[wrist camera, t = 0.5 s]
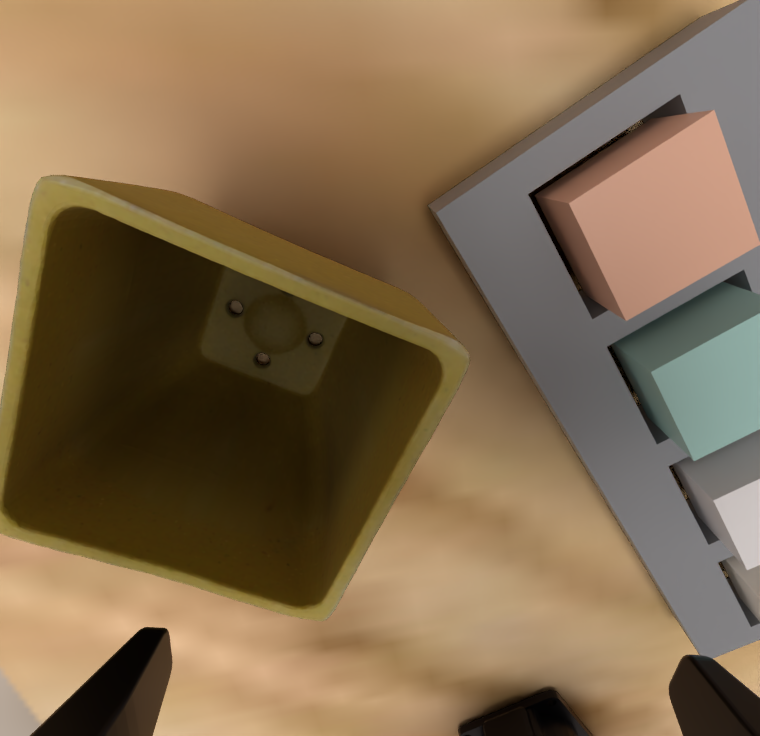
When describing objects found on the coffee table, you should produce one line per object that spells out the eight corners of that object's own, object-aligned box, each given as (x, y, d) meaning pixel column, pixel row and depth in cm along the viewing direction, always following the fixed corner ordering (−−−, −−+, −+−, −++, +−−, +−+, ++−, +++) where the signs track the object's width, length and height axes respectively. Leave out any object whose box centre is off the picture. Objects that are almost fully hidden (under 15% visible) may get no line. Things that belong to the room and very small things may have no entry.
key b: (790, 473, 20) (856, 523, 18) (698, 516, 21) (747, 570, 18) (763, 404, 19) (829, 446, 16) (665, 452, 20) (713, 500, 17)
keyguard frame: (871, 533, 23) (925, 573, 21) (674, 616, 26) (704, 661, 23) (701, 16, 15) (760, -9, 13) (427, 205, 17) (435, 212, 15)
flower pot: (432, 264, 18) (483, 355, 10) (343, 447, 21) (325, 632, 13) (201, 160, 16) (31, 163, 8) (142, 374, 20) (-24, 531, 11)
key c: (747, 365, 18) (814, 402, 16) (647, 417, 19) (694, 461, 16) (713, 278, 17) (780, 302, 14) (607, 338, 18) (650, 372, 15)
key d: (694, 229, 16) (760, 244, 13) (585, 294, 17) (626, 321, 14) (651, 118, 15) (714, 109, 12) (534, 195, 16) (569, 203, 13)
